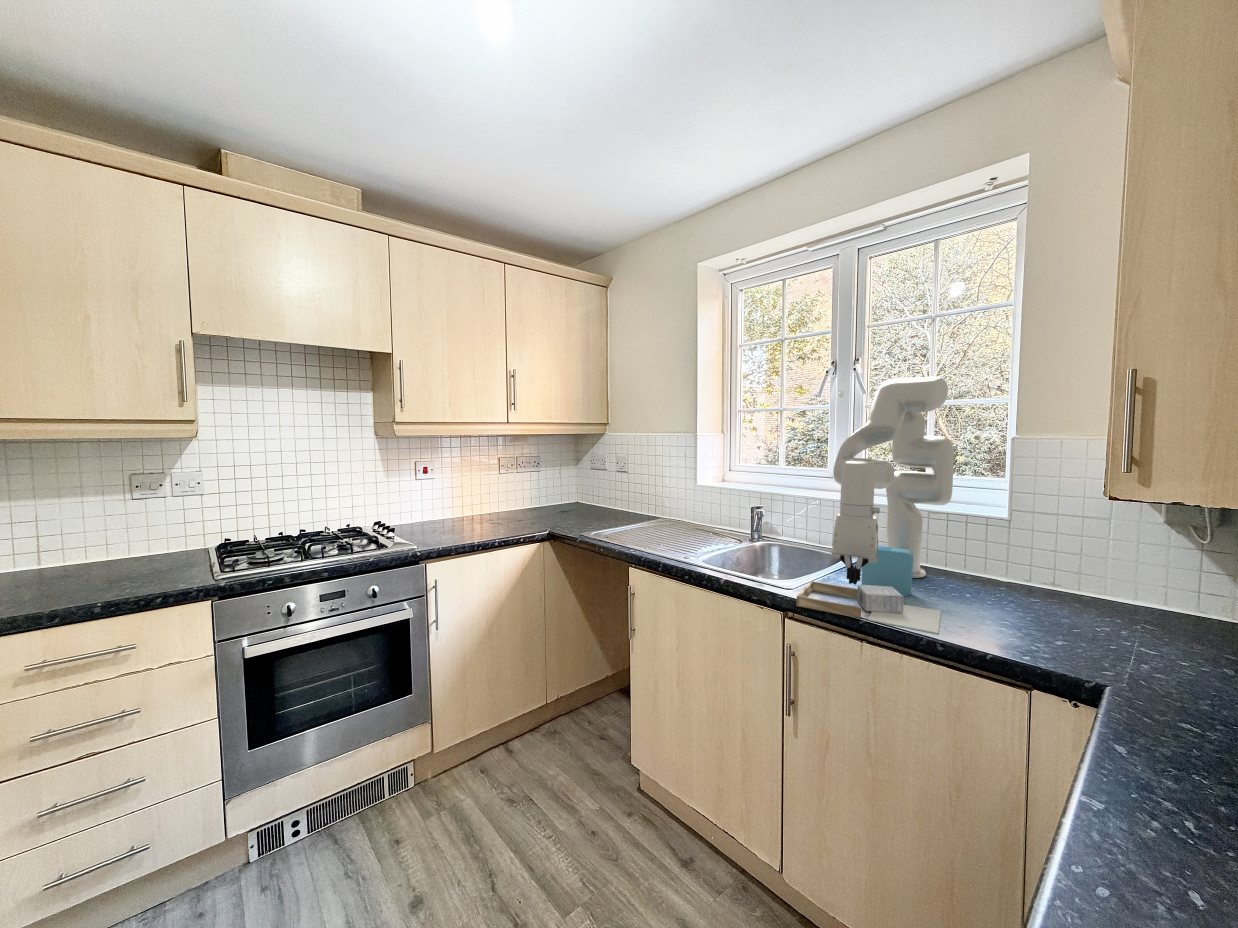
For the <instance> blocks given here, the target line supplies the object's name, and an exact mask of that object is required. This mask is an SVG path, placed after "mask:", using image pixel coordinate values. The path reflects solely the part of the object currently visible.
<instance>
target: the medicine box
mask: <svg viewBox="0 0 1238 928" xmlns="http://www.w3.org/2000/svg"><path fill="white" fill-rule="evenodd" d="M857 589H858V595H857V602H858V603H859V604H860V607H862V609H863V610H864V611H865V612H872V611H874V612H890V613H903V607H904V605H905V604H904V601H905V600H904V597H903V596H902V595H901V594H900V593H899V592H898V591H897V590H896V589H895V588H894V587H891V586H875V585H861V584H858V585H857Z"/></svg>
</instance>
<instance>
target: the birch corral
mask: <svg viewBox="0 0 1238 928" xmlns="http://www.w3.org/2000/svg"><path fill="white" fill-rule="evenodd" d="M812 592H818V593H824V594H829V595H834V596H841V597H845V598H852V599H857V595H858V588H857V587H856V588H855V587H850V586H843V585H838V584H833V583H825V582H819V581H814V580H810V581H809V583H808V584H806V586H805V587H804V588H803V589H801V591H800V592H799V593H798V594H797V596H796V602H795V603H796V605H795V606H796V607H801V608H805V609H811V610H816V611H821V612H827V613H832V614H837V615H842V616H847V617H852V618H858V619H862V609H863V607H862V606H856V605H850V604H845V603H840V602H834V601H831V600H830V601H829V600H824V599H819V598H818V599H817V598H813V597H808V596H809V595H811V593H812Z"/></svg>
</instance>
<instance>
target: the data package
mask: <svg viewBox="0 0 1238 928" xmlns="http://www.w3.org/2000/svg"><path fill="white" fill-rule="evenodd" d="M877 556H878V562H877V563H867V564H866V565H864V566H863V567H862V568H861V584H860V585H875V586H891V587H894V588H895V589H896V590H897V591H898V592H899V593H900V594H901V595H902V596H903V598H904V597H909V596H910V595H911V594H912V593H911V592H912V589H913V578H912V576H913V558H914V556H913V553H912V552H911V551H910V550H906V549H898V548H890V547H886V546H881V545H878V552H877Z"/></svg>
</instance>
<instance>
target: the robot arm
mask: <svg viewBox="0 0 1238 928" xmlns="http://www.w3.org/2000/svg"><path fill="white" fill-rule="evenodd" d="M948 394H949V387H948V383H947V381H946V379H944V378H943V377H941V376H929V377H928V376H927V377H904V378H903V377H902V378H892V379H888V380H886V381H885V380H884V381H883V382H882V383H881V385H879V387H878V389H877V391H876V393H875V396H874V399H873V403H872V404H871V408H870V410H869V415H868V418H867V420H866V423H865V425H863V426H861V427H860V428H859V429H857V430H856V431H854V432H853V433H852V434H851V435H850V436H848V437H847V438H846V439H845V440H844V441H843V442H842V444H841V445H840V448H839V450H838V452H837V456H836V459H835V461H834V466H833V469H832V470H833V475H832V476H833V478H834V481H835V482H836V483H837V484H838V485H840V497H839V498H840V499H839V500H840V501H839V503H840V505H839V513H837V515H836V517H835V522H834V527H833V535H832V551H831V554H830V555H831V557H832V558H835V559H837V560H840V561H841V562H842V563H843V564H844V566H845V567H846V579H847V580H848V584H850V585H851V584H853V585H856V586H857V584H858V582H861V575H862V567H863V566H864V565H866V564H867V563H877V562H878V556H877V552H878V546H879V528H878V525H879V524H878V518H877V517H876V516H875V514H880V513H881V512H880V511H881V508H880V507H877V506H875V504H874V500H875V497H874V496H875V490H877V489H878V490H881V489H882V490H883V489H885V492H886V501H887V516H886V517H887V519H886V520H887V522H886V524H887V525H886V539H885V541H886V542H885V547H890V548H898V549H906V550H910V551H911V552H912V553H913V556H914V558H913V576H912V579H920V578H924V577H926V573H927V572H926V571H925V570H924V569H923V568H921V558H922V538H923V522H924V521H923V515H922V513H921V510H919V509H918V507H917V506H916V504H921V505H931V506H945V505H947V504H949V503H950V501H951V499H952V495H953V486H954V461H955V460H954V459H955V455H954V454H955V451H954V445H953V443H952V441H951V439H950V438H948V437H945V436H942V435H941V436H938V435H935V436H934V435H926V433H925V431H926V418H925V416H924V414H923V413H925V412H927V413H928V412H931V411H934V410H936V409H939V408H940V407H942V406H943V405H944V403H945V402H946V401H947V399H948V396H949V395H948ZM922 412H923V413H922ZM890 441H892V442H891V443H892V444H891V445H892V446H891V447H892V448H891V451H892V452H891V456H892V461H893V462H894V464H896V465H897V466H899V467H900V466H901V467H908V468H920V469H922V468H926V469H931V470H932V471H933V472H924V471H914V470H912V471H911V470H897V471H895V468H894V466H893V464H892V463H890V462H889V461H887V460H884V459H878V458H877V459H876V458H859V457H858V458H857V457H856V456H857V455H859V454H860V453H861V452H863V451H865V450H867V449H870V448H874V447H876V446H879V445H882V444H885V443H888V442H890ZM853 557H856V558H857V559H856V563H855V565H854V563H853V559H852V558H853Z"/></svg>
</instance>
